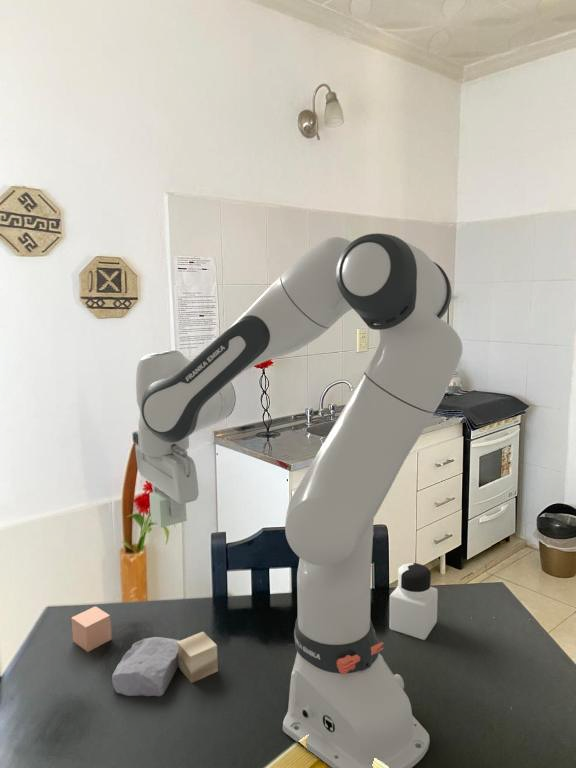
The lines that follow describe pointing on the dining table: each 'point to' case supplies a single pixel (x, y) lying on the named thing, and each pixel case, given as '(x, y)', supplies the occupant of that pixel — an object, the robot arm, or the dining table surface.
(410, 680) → the dining table surface
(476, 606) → the dining table surface
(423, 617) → the medicine bottle
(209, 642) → the birch cube
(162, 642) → the stone block
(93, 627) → the terracotta cube
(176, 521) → the sage cube
